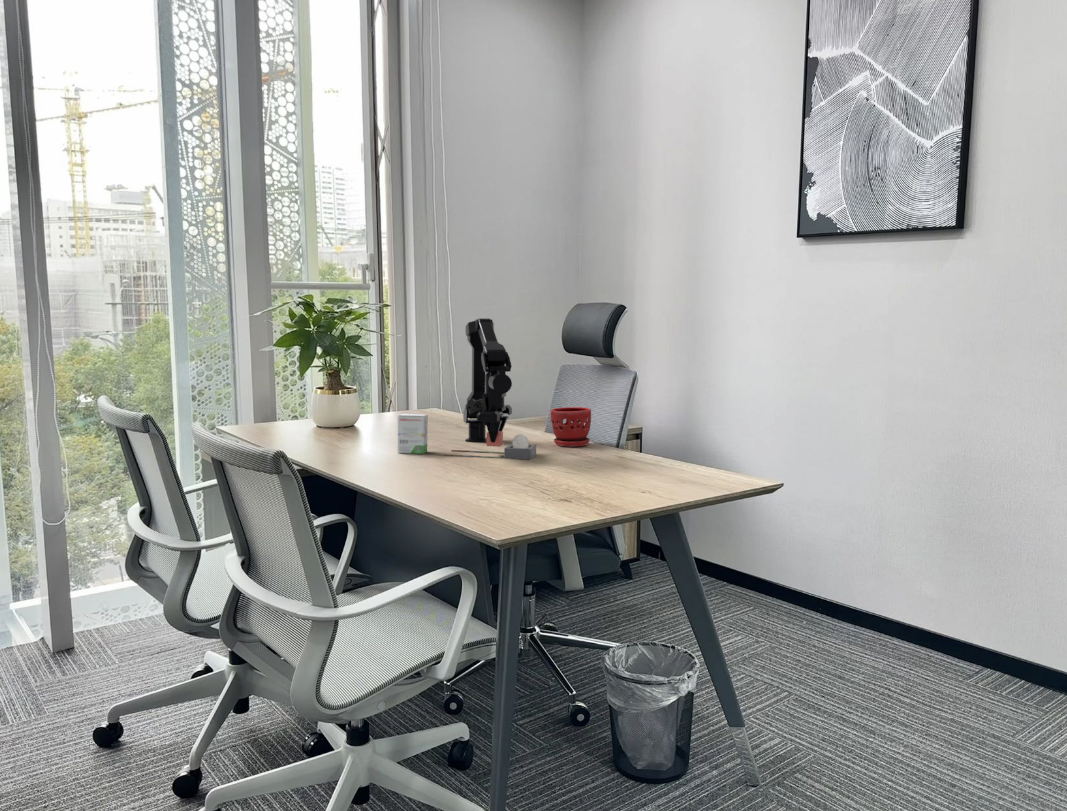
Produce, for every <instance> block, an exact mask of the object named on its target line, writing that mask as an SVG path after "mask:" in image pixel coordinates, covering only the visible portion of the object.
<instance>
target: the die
mask: <svg viewBox="0 0 1067 811" xmlns="http://www.w3.org/2000/svg"><path fill="white" fill-rule="evenodd" d="M486 437H487V440H486V447H499V448H500V447H502V445H503V444H504V430H502V431H499V432H498V435H497V438H496V440H495V442H491V440H490V436H489V432H488V431H487V432H486Z"/></svg>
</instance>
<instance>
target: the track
mask: <svg viewBox="0 0 1067 811" xmlns="http://www.w3.org/2000/svg"><path fill="white" fill-rule="evenodd" d="M451 452H459V453H460V452H463V453H464V452H465V453H482V454H483V453H485V454H503V455H504V451H488V450H485V451H484V450H463V449H462V450H461V449H451ZM444 456H445V457H463V458H465V457H466V458H467V457H468V458H484V459H485V458H486V459H487V458H488V459H502V456H492V455H473V454H470V455H467V454H465V455H464V454H448V453H447V454H445V453H444V454H443V457H444Z"/></svg>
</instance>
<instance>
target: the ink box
mask: <svg viewBox="0 0 1067 811" xmlns="http://www.w3.org/2000/svg"><path fill="white" fill-rule="evenodd" d="M428 417H429V415H428V414H420V413H419V414H417V413H415V414H414V413H401V414H398V415H397V454H417V455H419V454H420V455H423V454H426V453H427V452H428V425H429V424H428V422H429V421H428Z"/></svg>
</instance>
